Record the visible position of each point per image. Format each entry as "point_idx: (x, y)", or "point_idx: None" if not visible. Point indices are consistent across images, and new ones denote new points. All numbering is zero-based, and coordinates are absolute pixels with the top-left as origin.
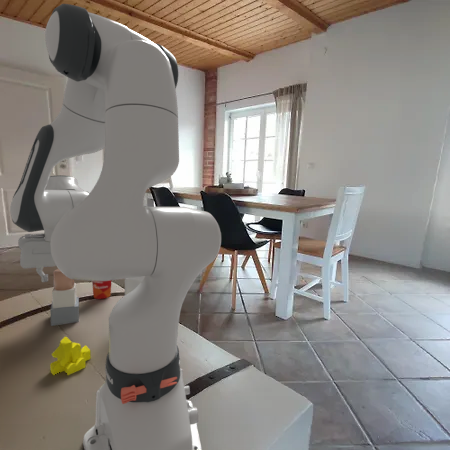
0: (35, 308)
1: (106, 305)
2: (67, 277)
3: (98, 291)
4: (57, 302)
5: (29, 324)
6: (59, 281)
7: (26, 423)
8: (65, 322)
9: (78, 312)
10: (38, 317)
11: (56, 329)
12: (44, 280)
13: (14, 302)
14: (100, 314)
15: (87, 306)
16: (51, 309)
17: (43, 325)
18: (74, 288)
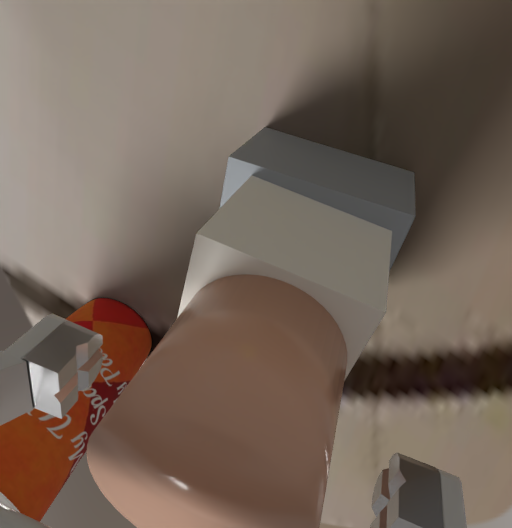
0: (409, 404)
1: (107, 226)
2: (192, 363)
3: (109, 336)
4: (355, 239)
5: (504, 265)
6: (293, 367)
7: None
8: (334, 151)
9: (246, 143)
10: (432, 311)
11: (403, 104)
12: (431, 478)
13: (464, 505)
14: (145, 142)
15: None
16: (406, 218)
17: (446, 205)
18: (190, 264)
